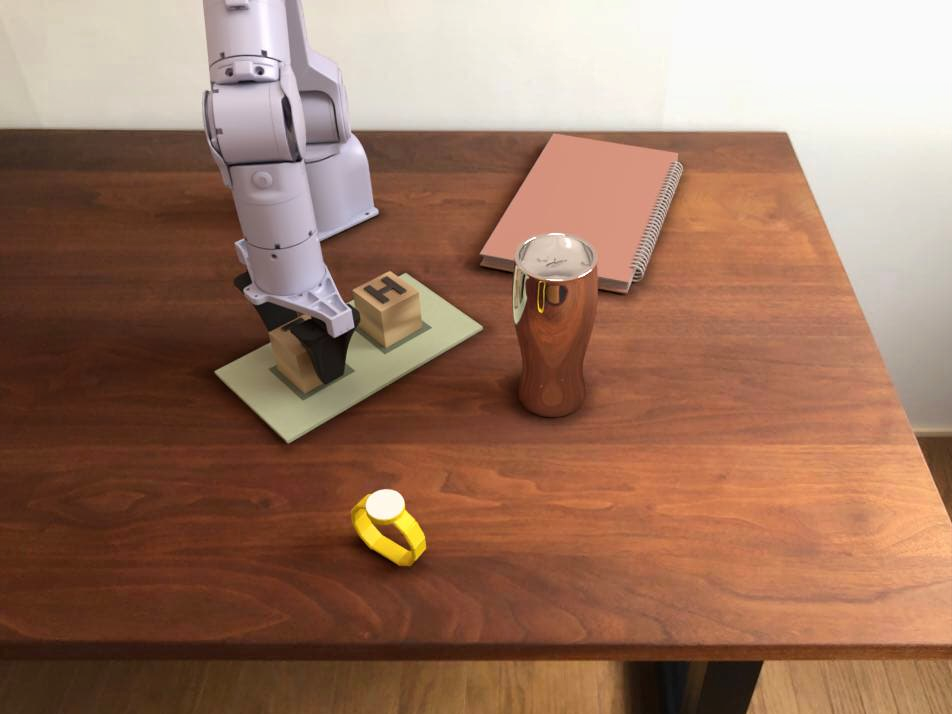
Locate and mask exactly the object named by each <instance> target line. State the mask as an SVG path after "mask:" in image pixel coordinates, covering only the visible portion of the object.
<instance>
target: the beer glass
mask: <svg viewBox="0 0 952 714" xmlns="http://www.w3.org/2000/svg"><path fill="white" fill-rule="evenodd" d="M597 261H598V255H597V251H596V249H595V248H594V247H593V246H592V244H590V243H589V242H588V241H586V240H585V239H583V238H581V237H578V236H576V235H572V234H568V233H561V232H549V233H542V234H537V235H534V236H532V237H529V238H527V239H526V240H524V241H523V242H521V243H520V244H519V245H518V247H517V248H516V250H515V254H514V270H513V272H512V283H511V286H512V287H511V307H512V316H513V323H514V329H515V333H516V337H517V343H518V346H519V350H520V355H521V360H522V361H521V363H522V365H521V366H522V367H521V373H520V378H519V382H518V388H517V397H518V400H519V402H520V404H521V405H522V406H523V408H525V409H526V410H527V411H529V412H530V413H533V414H535V415H537V416H540V417H545V418H560V417H565V416H568V415H570V414H572V413H575V412H576V411H577V410H578V409H579V408H581V407H582V406H583V404H584V402H585V401H586V396H587V390H586V383H585V378H584V361H585V357H586V353H587V349H588V346H589V343H590V339H591V336H592V332H593V330H594V325H595V320H596V316H597V309H598V301H599V300H598V299H599V298H598V297H599V289H598V266H597Z"/></svg>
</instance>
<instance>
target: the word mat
mask: <svg viewBox="0 0 952 714" xmlns="http://www.w3.org/2000/svg"><path fill="white" fill-rule="evenodd" d="M398 277H399V278H401V279H402V280H403V281H405V282H406V283H408V284H409V285H410V286H412V287H413V288H415V289H416V290H418V291H419V299H420V309H421V318H422V328H421V329H419V330H418V331H416V332H414V333H412V334H410V335H409V336H407V337H405V338H403V339H402V340H400V341H398V342H396V343H394V344H393V345H391V346H389V347H387V348H385V347H384V346H382V345H381V344H380V343H379V342H377V341H376V340H375V339H374V338H372V337H371V336H370V335H368V334H367V333H366V332H365V331H363V330H362V329H361V328H359V327H358V326H357V328H356V329H355V331H354V333H353V335H352V337H351V340H350V342H349V346H348V350H347V356H346V363H345V371H344V375H343V376H341V377H339V378H337V379H336V380H334V381H332V382H330V383H328V384H327V385H325V384H324V383H323V384H321V385H319V386H318V387H316V388H314V389H312V390H310V391H309V392H307V393H304V392H302V391H301V390H300V389H299V388H298V387H297V386H296V385H295V384H293V383H292V382H291V381H290V380H289V379H288V378H287V377H286V376H284V375H283V374H282V373H281V372H280V371H279V370H278V368H277V365H276V361H275V357H274V353H273V349H272V346H271V342H270V341H269V343H267V344H264V345H263V346H260V347H258V348H257V349H255V350H253V351H251V352H249V353H246V354H245V355H243V356H242V357H240V358H239V357H238V358H237V359H235V360H234V361H232V362H230V363H228V364H226V365H224V366H222V367H220V368H218V369H216V370H214V375H216V377H217V378H219V380H220V381H221V382H222V383H224V384H225V385H226V386H227V387H228V388H229V389H230V390H231V391H232V392H233V393H234V394H235V395H236V396H237V397H238V398H239V399H240V400H241V401H243V403H245V404H246V406H247V407H249V408H250V409H251V410H252V411H253V413H255V414H256V415H257V416H258V417H259V418H260V419H261V420H262V421H263V422H264V423H265V424H266V425H267V426H268V427H270V428H271V429H272V430H273V432H275V433H276V435H278V436H279V437H280V438H281V439H282V440H283V441H284V442H285V443H286V444H290V443H292V442H294V441H295V440H297V439H299V438H301V437H302V436H304V435H306V434H307V433H309V432H311V431H313V430H315V429H316V428H318V427H319V426H321V425H323V424H325V423H327V422H328V421H329V420H331V419H333V418H335V417H337V416H338V415H340V414H342V413H343V412H344V411H345V412H346V410H348V409H350V408H352V407H354V406H355V405H357V404H359V403H360V402H362V401H364V400H365V399H367V398H369V397H370V396H372V395H374V394H376V393H377V392H379V391H381V390H382V389H384V388H386V387H387V386H390V384H393V383H395V382H396V381H398V380H399V379H401V378H403V377H404V376H406V375H408V374H410V373H412V372H413V371H414V370H417V369H418V368H420V367H422V366H424V365H425V364H427V363H428V362H430V361H431V360H434V359H435V358H437V357H439V356H440V355H442V354H444V353H445V352H447V351H450V350H451V349H453V348H454V347H456V346H457V345H459V344H461V343H462V342H464V341H466V340H468V339H469V338H471V337H473V336H474V335H476V334H478V333H479V332H482V331H483V330H484V328H483V325H481V324H479V323H478V322H477V321H475V320H474V319H473V318H471V317H470V316H468V315H467V314H465V313H464V312H462V311H461V310H460V309H458V308H457V307H455V306H454V305H453V304H451V303H450V302H448V301H446V299H444V298H443V297H441V296H440V295H438V294H437V293H435V292H434V291H433V290H431V289H429V288H428V287H427V286H425V284H423V283H421V282H419V281H418V280H417V279H416V278H414V277H412V276H411V275H409V274H408V273H407V272H404V273H403V274H401V275H399V276H398ZM348 303H349V304H350V305H352V306H353V307H354V308H355V304H354V299H352V300H350V301H348V302H346V303H345V304H348Z"/></svg>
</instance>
